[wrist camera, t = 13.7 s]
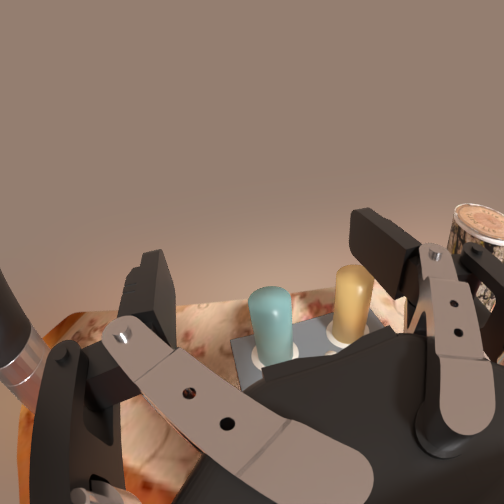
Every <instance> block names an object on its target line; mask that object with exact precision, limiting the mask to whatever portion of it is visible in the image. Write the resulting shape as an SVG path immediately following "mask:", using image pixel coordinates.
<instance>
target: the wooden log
mask: <svg viewBox="0 0 504 504" xmlns="http://www.w3.org/2000/svg"><path fill="white" fill-rule="evenodd" d="M467 242H473V243H477V244H479V245H481V246H483V247H484V248H486V249H487V250H488V251H489V252H491V253H492V254H493V255H494V256H495V257H497V258H498V259H499V260H500V261H501V262H502V263H504V215H503V214H502V213H500V212H498V211H495V210H493V209H491V208H488V207H485V206H481V205H477V204H461V205H459V206H457V207H456V208H455V213H454V216H453V221H452V227H451V231H450V236H449V240H448V245H447V250H448V251H449V252H450V253H451V254H461V251H462V247H463V245H464V244H465V243H467ZM476 297H477V298H478V299H479V300H480V301H481V302H482V303H483V304H484V305H485V306H486V308H487V309H488V310H489V311H491V309H492V306H493V304H494V302H495V300H496V299H495V296H494V294H493V293H492V292H491V291H490V290H489V289H488V288H487V287H486V286H485V285H484V284H483V283H482V282H481V284H480V286H479V289H478V291H477V293H476Z"/></svg>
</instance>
